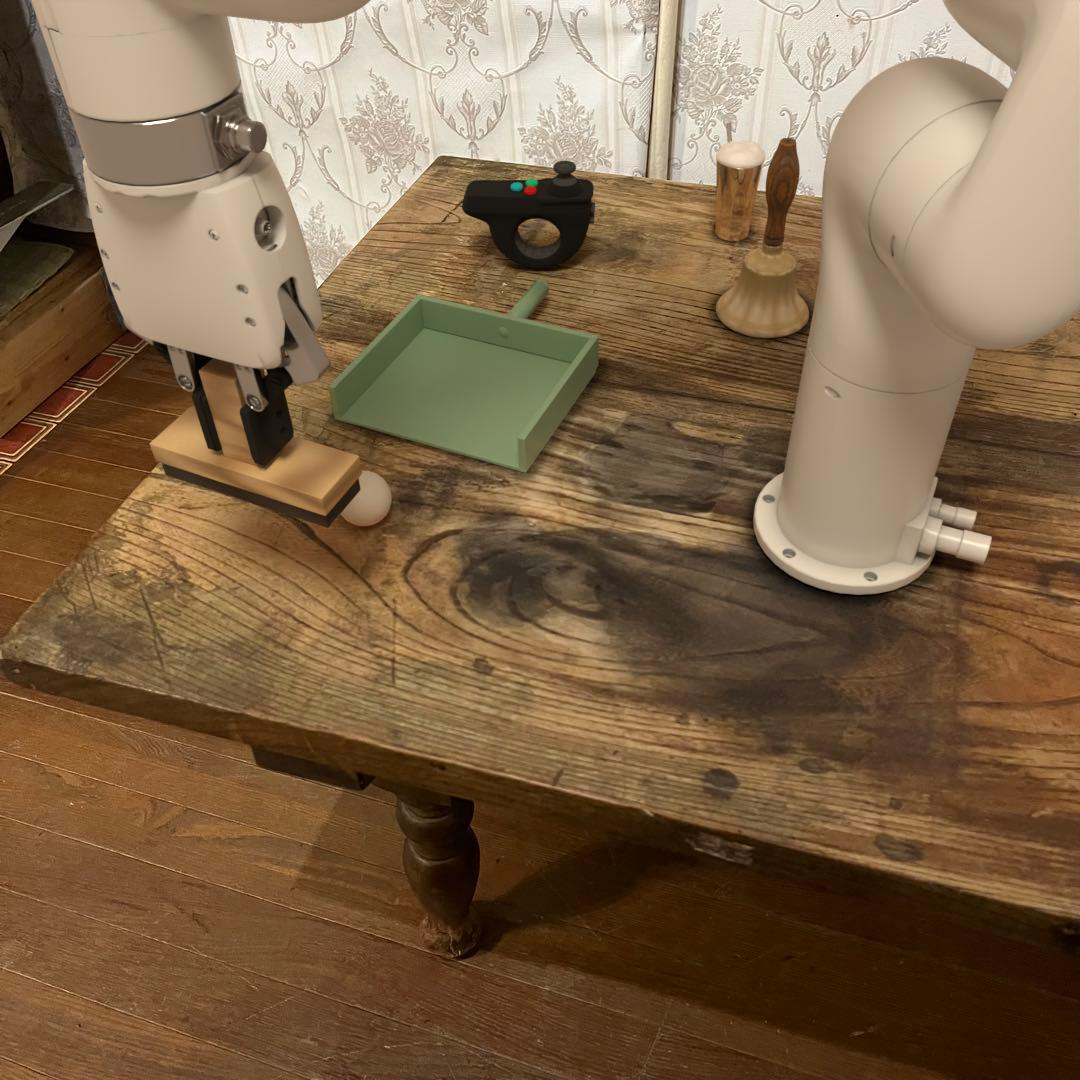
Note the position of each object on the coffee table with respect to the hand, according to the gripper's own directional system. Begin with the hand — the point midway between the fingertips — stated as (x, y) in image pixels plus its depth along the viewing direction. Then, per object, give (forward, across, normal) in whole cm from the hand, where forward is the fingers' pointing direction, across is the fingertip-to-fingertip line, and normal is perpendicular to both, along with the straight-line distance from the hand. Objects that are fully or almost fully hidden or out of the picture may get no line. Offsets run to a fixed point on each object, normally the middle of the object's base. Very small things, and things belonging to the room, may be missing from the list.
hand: (251, 441), depth 60 cm
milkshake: (+14, -12, -59) cm, 62 cm away
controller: (+14, +4, -46) cm, 48 cm away
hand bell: (+14, -19, -46) cm, 52 cm away
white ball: (+12, 0, -9) cm, 15 cm away
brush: (+3, 0, 0) cm, 3 cm away
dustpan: (+14, 0, -29) cm, 33 cm away
